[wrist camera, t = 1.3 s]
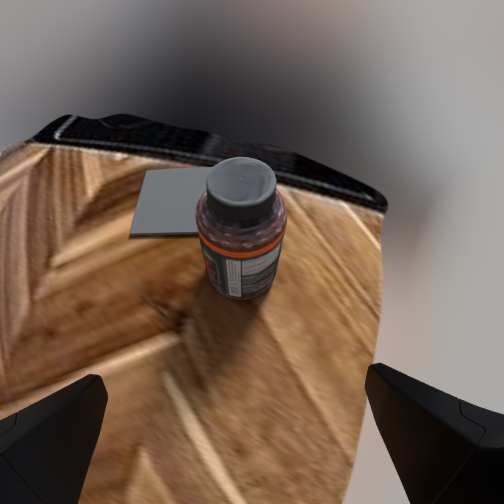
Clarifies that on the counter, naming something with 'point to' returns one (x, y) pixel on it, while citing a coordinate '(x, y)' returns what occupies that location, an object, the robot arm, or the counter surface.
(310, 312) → the counter surface
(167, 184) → the pad
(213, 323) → the counter surface
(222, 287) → the supplement bottle
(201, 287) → the counter surface
